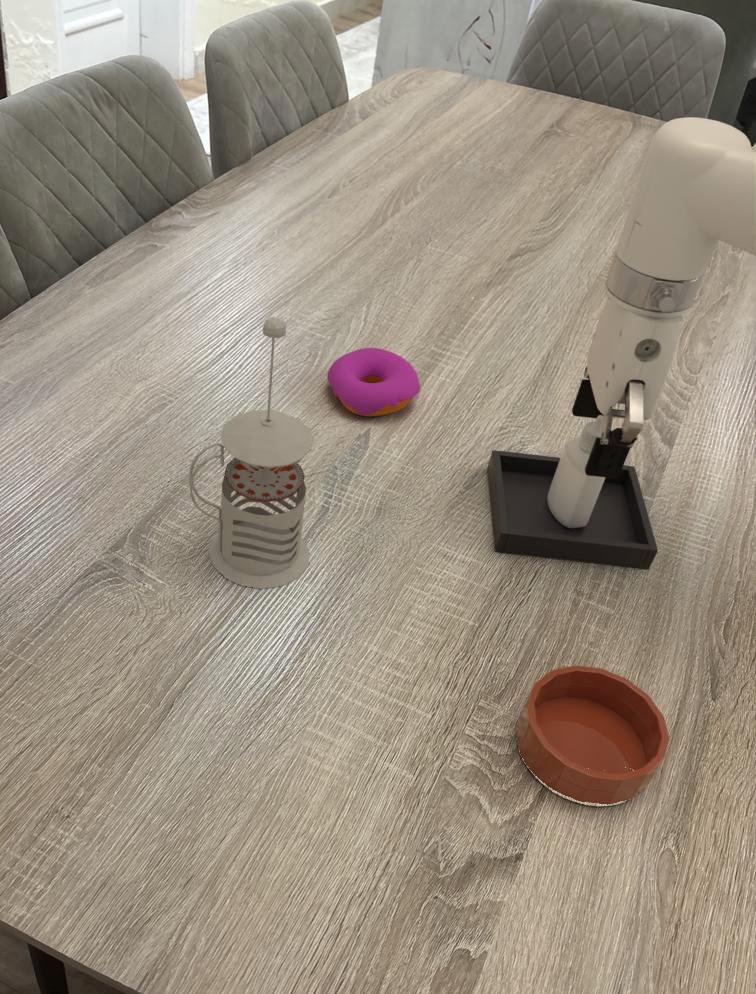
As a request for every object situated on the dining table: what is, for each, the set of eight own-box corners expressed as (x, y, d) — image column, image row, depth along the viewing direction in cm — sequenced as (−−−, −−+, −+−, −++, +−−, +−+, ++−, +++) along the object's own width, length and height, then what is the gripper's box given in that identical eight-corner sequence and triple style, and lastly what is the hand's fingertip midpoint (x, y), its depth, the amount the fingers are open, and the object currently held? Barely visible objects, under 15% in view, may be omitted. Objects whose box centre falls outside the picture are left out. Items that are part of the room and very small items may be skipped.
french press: (313, 589, 88) (344, 354, 70) (189, 588, 87) (187, 349, 69) (305, 519, 95) (331, 290, 77) (190, 518, 94) (188, 284, 76)
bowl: (637, 703, 82) (654, 673, 79) (662, 815, 74) (681, 787, 71) (510, 688, 82) (522, 658, 79) (521, 799, 74) (534, 770, 71)
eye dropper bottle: (542, 524, 97) (576, 428, 88) (547, 491, 101) (580, 396, 92) (585, 534, 96) (623, 438, 88) (587, 501, 100) (624, 406, 92)
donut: (316, 378, 113) (320, 345, 110) (394, 370, 116) (400, 337, 113) (345, 428, 107) (350, 394, 103) (427, 418, 109) (434, 384, 106)
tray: (626, 484, 104) (634, 466, 102) (649, 569, 94) (658, 550, 92) (486, 468, 104) (492, 449, 102) (495, 552, 94) (501, 532, 92)
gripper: (720, 337, 74) (647, 505, 86) (676, 240, 86) (617, 399, 98) (626, 327, 74) (566, 496, 86) (594, 231, 86) (546, 391, 98)
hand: (593, 444), depth 92 cm, fingers open, 9 cm apart
